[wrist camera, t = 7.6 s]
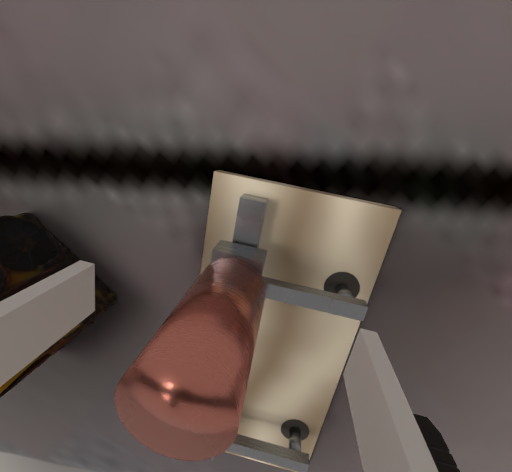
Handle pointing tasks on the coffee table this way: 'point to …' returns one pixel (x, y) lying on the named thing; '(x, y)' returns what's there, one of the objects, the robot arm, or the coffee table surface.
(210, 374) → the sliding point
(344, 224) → the board
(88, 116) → the coffee table surface
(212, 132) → the coffee table surface
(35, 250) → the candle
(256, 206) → the rail
